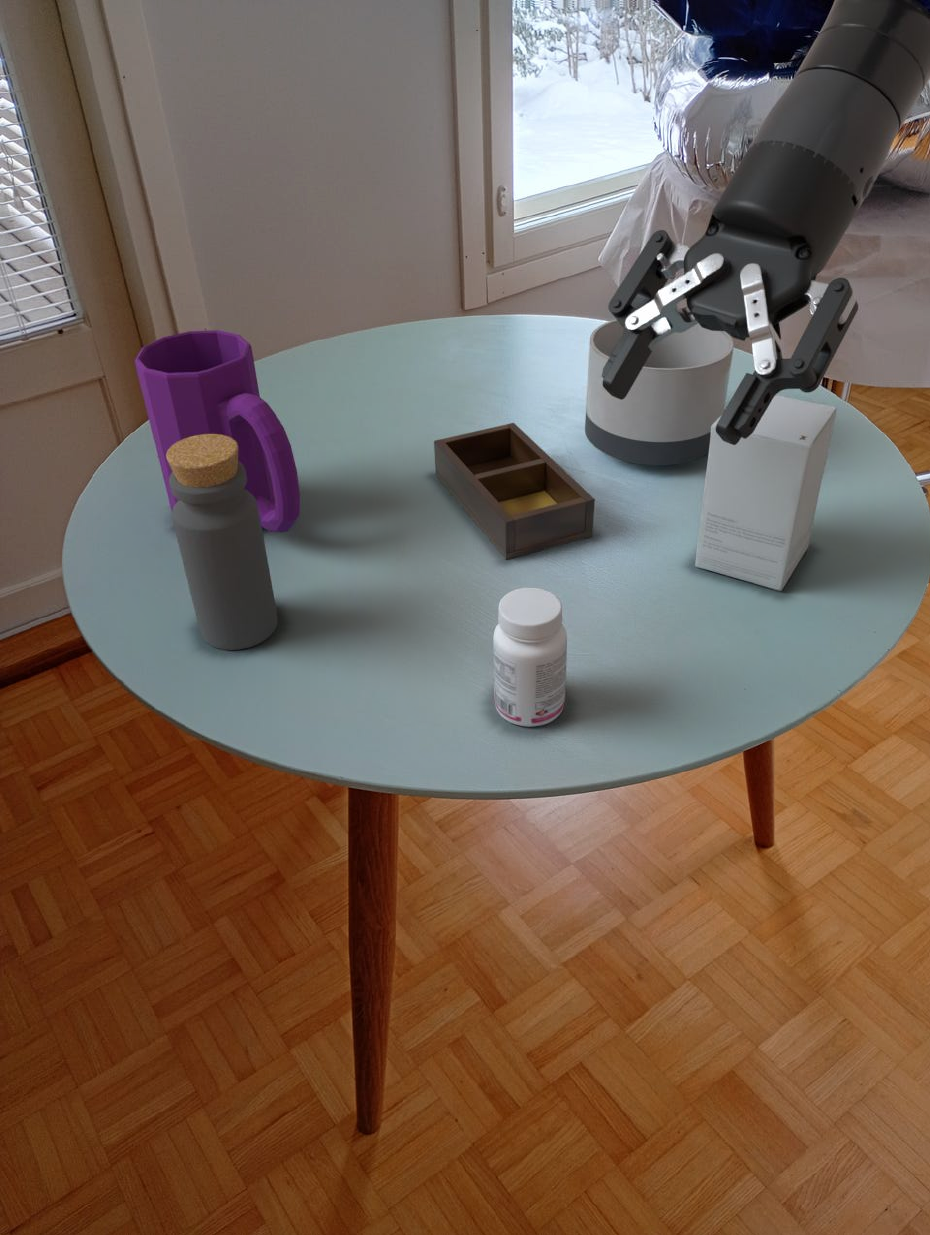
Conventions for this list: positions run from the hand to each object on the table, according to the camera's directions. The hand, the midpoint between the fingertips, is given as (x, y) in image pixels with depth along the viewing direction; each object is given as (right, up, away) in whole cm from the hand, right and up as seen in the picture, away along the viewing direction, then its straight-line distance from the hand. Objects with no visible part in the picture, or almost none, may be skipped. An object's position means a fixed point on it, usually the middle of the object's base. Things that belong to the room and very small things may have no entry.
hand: (666, 415), depth 60 cm
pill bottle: (-8, -18, +7) cm, 21 cm away
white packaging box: (+11, -8, +20) cm, 24 cm away
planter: (+6, +4, +35) cm, 36 cm away
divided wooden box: (-8, -2, +27) cm, 29 cm away
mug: (-31, -4, +26) cm, 41 cm away
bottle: (-29, -13, +15) cm, 35 cm away
